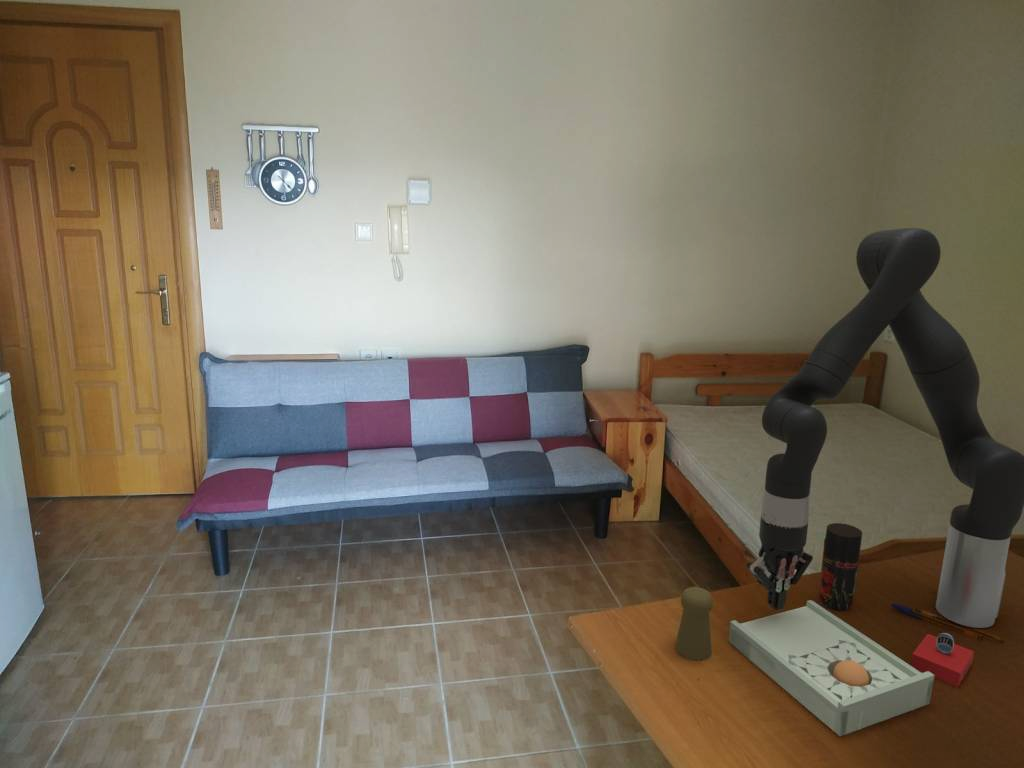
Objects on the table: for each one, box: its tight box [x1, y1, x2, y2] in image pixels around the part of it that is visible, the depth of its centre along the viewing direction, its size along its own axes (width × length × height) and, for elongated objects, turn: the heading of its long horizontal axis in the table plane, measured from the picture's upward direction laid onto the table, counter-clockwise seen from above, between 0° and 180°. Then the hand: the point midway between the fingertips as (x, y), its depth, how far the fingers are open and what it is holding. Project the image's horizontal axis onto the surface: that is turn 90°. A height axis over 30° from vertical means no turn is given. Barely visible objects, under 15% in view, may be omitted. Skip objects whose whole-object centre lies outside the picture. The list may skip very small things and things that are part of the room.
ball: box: [833, 660, 869, 687], centre depth 107 cm, size 5×5×5 cm
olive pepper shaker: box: [674, 586, 714, 662], centre depth 116 cm, size 6×6×11 cm
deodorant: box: [817, 522, 863, 612], centre depth 130 cm, size 6×6×15 cm
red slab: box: [910, 632, 975, 688], centre depth 113 cm, size 8×7×6 cm
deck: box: [728, 599, 935, 737], centre depth 112 cm, size 18×24×5 cm
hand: (775, 607), depth 121 cm, fingers closed
